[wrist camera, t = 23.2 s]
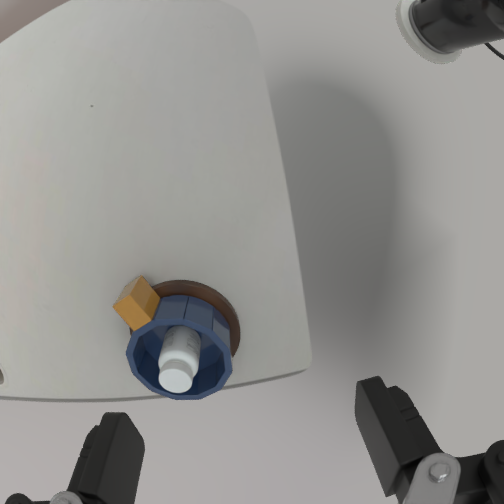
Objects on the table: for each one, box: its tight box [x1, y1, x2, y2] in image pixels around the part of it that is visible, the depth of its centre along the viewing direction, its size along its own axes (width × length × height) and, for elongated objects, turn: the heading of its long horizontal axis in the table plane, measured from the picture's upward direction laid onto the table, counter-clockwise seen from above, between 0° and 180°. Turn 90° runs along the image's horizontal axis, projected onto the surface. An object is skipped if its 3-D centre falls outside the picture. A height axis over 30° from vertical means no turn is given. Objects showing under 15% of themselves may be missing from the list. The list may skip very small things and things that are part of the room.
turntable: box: [130, 280, 240, 357], centre depth 37 cm, size 14×14×1 cm
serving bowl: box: [113, 275, 233, 400], centre depth 33 cm, size 15×12×5 cm
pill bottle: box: [158, 325, 201, 393], centre depth 32 cm, size 4×4×8 cm
